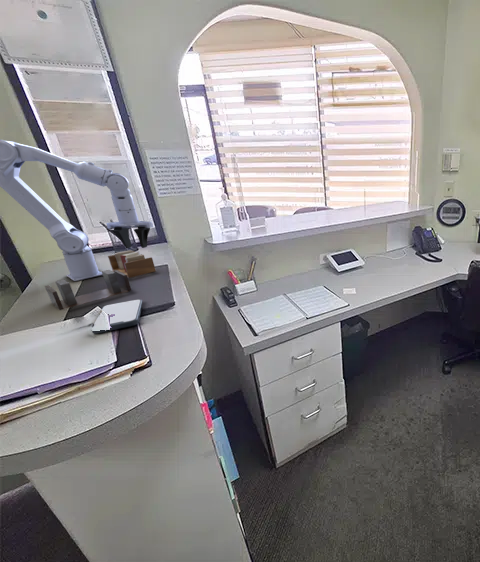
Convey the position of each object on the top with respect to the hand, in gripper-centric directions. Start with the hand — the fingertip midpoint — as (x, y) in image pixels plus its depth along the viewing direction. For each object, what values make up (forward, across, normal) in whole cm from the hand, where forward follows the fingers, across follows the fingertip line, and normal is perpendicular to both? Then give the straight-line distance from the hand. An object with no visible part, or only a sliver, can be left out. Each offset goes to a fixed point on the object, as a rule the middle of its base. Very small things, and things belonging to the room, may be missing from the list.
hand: (136, 247), depth 113 cm
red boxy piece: (+7, +1, -5) cm, 9 cm away
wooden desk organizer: (+8, +1, -6) cm, 10 cm away
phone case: (+8, +21, -42) cm, 47 cm away
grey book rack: (+8, +5, -29) cm, 31 cm away
